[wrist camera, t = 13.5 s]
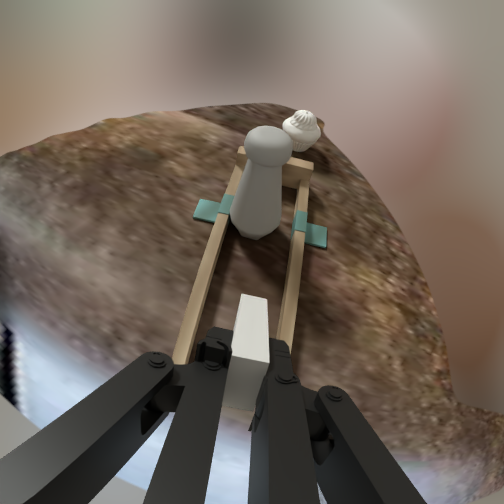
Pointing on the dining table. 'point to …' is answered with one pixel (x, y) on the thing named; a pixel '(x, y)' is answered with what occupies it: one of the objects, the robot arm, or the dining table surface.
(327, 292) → the dining table surface
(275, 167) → the salt shaker
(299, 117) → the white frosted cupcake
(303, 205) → the guide rails
